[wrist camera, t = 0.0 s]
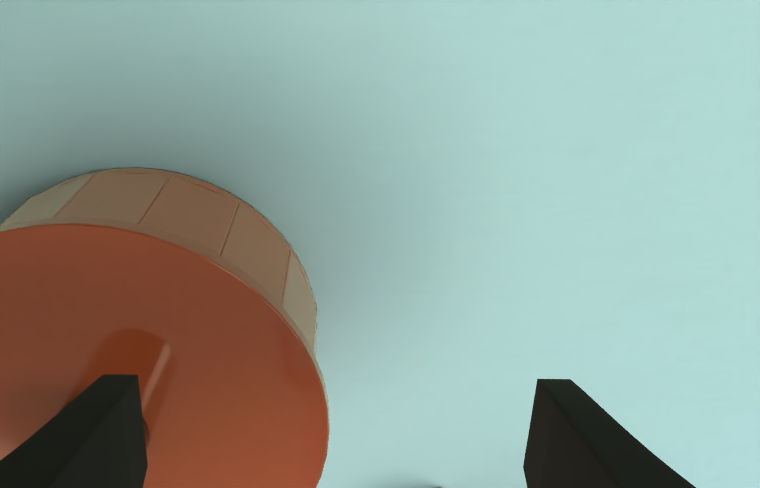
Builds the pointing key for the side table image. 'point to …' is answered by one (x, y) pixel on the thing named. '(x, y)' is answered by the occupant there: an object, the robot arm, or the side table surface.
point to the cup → (187, 225)
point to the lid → (159, 352)
